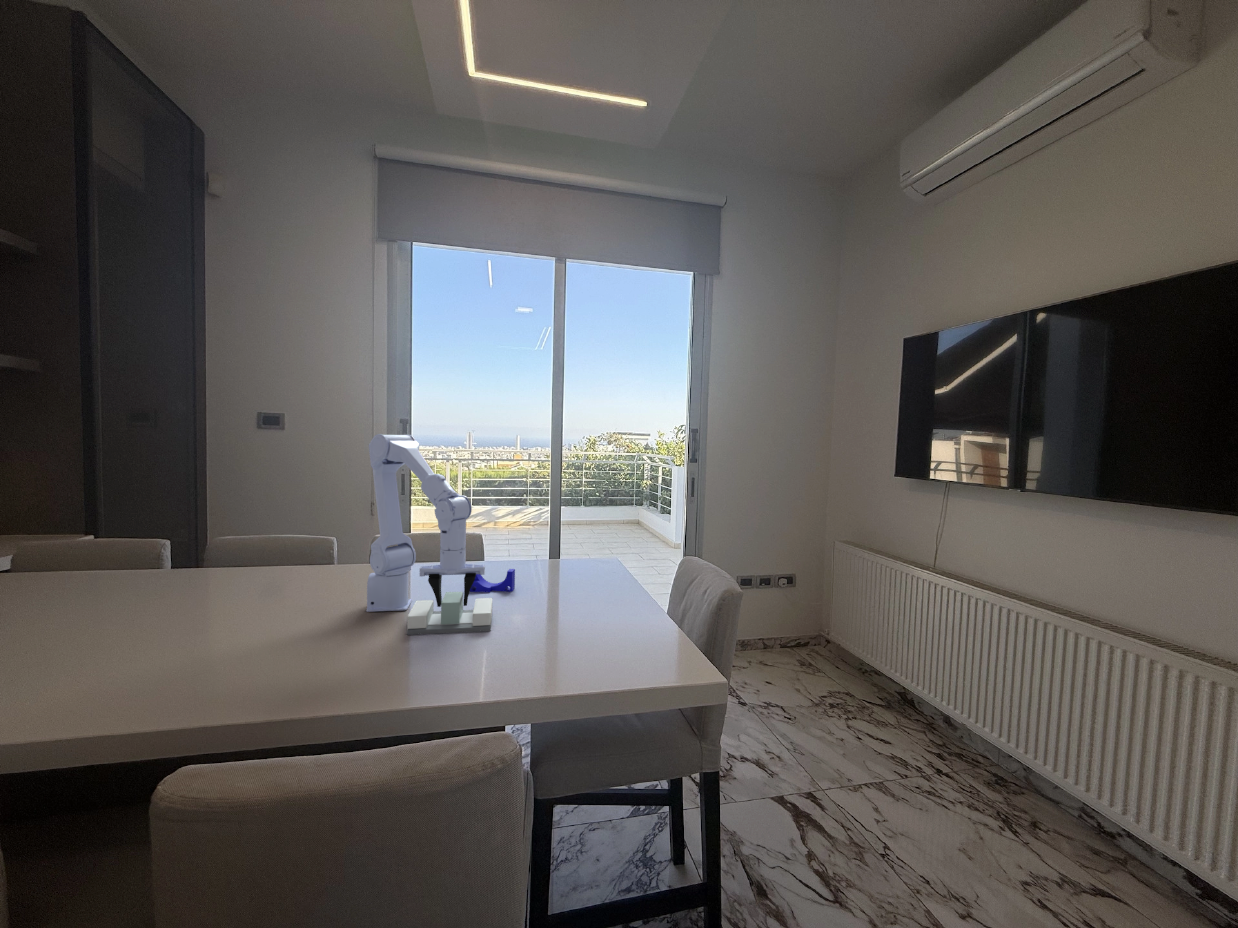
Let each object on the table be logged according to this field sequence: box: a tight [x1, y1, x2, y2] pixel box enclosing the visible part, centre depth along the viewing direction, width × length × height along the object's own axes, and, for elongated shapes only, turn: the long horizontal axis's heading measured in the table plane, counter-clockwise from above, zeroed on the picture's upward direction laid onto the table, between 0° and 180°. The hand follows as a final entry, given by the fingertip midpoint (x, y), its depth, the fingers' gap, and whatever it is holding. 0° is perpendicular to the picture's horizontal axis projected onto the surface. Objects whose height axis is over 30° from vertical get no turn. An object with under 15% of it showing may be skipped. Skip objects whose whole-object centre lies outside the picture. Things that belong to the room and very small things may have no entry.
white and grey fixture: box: [406, 597, 493, 636], centre depth 123 cm, size 18×12×4 cm, turn 102°
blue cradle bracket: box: [469, 568, 516, 593], centre depth 150 cm, size 12×4×6 cm, turn 87°
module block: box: [440, 591, 464, 624], centre depth 124 cm, size 4×8×5 cm, turn 11°
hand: (452, 604), depth 123 cm, fingers open, 5 cm apart
